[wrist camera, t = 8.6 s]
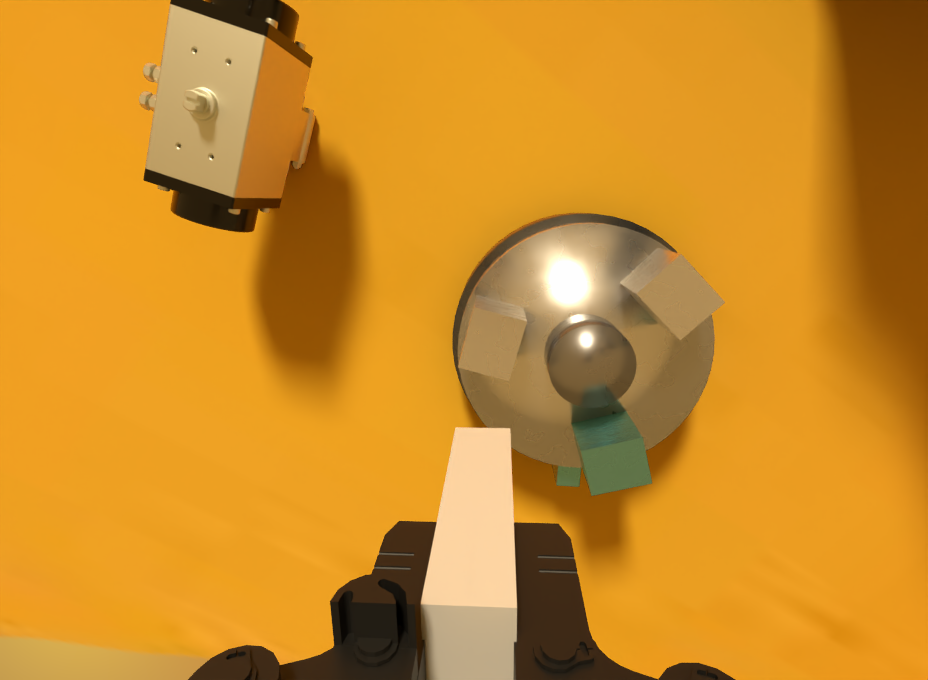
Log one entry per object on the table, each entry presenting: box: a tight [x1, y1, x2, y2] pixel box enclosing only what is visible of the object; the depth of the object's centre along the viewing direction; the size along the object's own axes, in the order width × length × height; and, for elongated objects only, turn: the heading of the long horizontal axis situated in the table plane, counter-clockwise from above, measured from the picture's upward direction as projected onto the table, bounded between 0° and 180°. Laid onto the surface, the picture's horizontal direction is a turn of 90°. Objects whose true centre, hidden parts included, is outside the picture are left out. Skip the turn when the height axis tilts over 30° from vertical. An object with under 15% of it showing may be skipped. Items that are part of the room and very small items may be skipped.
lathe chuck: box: [458, 222, 725, 496], centre depth 32 cm, size 16×16×6 cm
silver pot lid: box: [453, 213, 677, 487], centre depth 37 cm, size 17×18×4 cm
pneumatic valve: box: [139, 0, 316, 232], centre depth 30 cm, size 6×12×12 cm, turn 162°
